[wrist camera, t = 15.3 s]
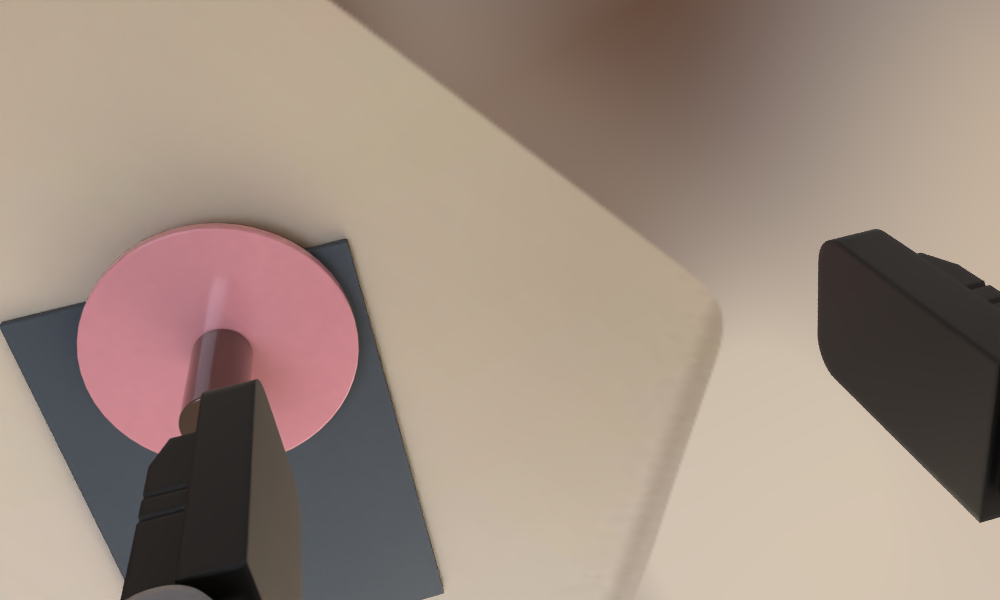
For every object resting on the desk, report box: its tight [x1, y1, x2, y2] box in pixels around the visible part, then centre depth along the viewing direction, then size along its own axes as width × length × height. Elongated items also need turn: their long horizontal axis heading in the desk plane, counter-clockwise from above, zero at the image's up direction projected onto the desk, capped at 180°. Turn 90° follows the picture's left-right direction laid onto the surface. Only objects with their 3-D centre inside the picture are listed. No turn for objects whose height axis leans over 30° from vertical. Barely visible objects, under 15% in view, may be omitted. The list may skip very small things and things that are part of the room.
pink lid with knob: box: [77, 223, 359, 453], centre depth 36 cm, size 11×11×6 cm
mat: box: [0, 239, 444, 600], centre depth 42 cm, size 20×14×1 cm
